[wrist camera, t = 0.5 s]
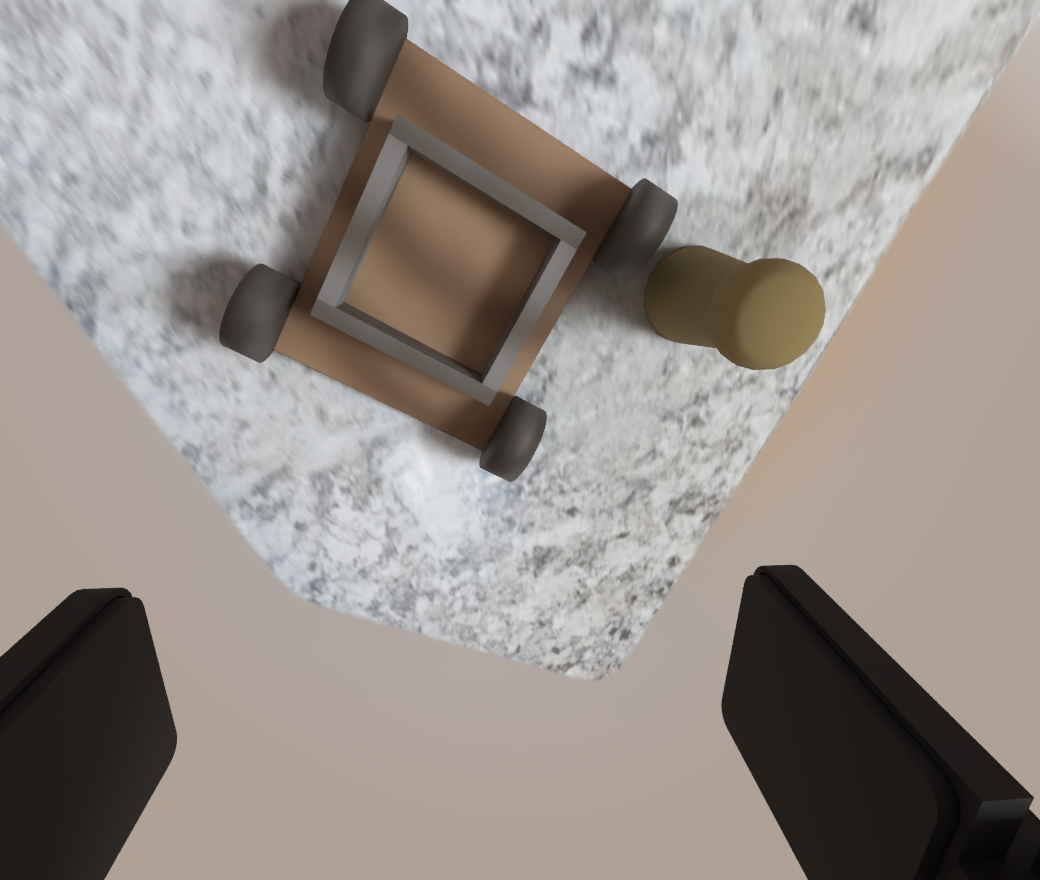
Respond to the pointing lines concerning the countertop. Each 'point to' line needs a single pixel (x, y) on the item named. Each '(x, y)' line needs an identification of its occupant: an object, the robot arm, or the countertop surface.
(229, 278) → the countertop surface
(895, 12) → the countertop surface
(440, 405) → the car chassis
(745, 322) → the cork
